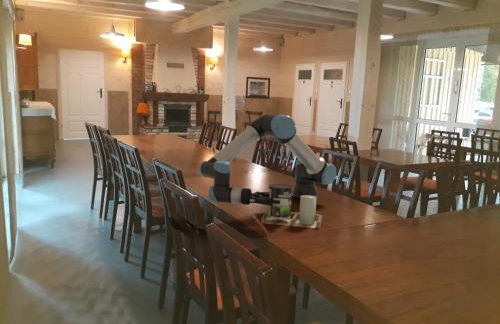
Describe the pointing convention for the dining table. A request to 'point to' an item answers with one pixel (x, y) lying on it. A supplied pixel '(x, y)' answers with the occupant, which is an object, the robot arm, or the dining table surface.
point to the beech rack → (290, 220)
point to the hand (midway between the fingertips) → (289, 199)
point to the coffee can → (281, 193)
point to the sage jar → (307, 210)
